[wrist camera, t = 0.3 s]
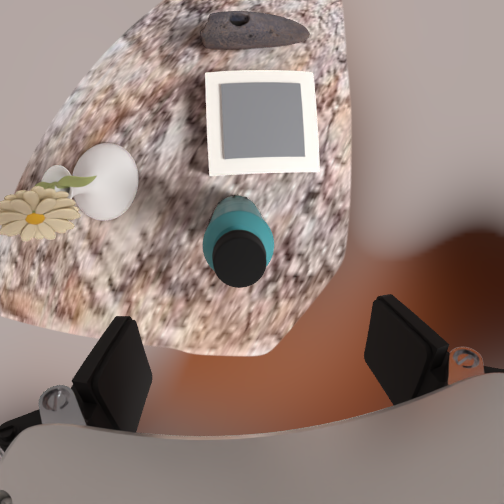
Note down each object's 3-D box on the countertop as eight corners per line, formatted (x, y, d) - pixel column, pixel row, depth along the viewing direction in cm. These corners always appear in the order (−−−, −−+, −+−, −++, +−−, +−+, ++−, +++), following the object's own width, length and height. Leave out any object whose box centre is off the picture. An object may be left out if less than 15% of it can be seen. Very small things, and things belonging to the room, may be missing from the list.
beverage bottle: (252, 187, 37) (273, 204, 18) (264, 232, 39) (294, 291, 20) (207, 201, 37) (180, 231, 18) (220, 245, 39) (210, 314, 20)
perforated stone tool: (303, 31, 30) (315, 10, 24) (305, 58, 32) (318, 39, 25) (204, 29, 29) (200, 6, 23) (203, 56, 31) (198, 35, 24)
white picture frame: (207, 82, 32) (204, 71, 28) (305, 80, 33) (313, 71, 29) (211, 175, 36) (209, 176, 32) (311, 171, 37) (320, 172, 33)
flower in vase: (77, 217, 36) (-40, 270, 12) (80, 145, 33) (-46, 140, 9) (151, 220, 37) (50, 293, 13) (156, 142, 34) (47, 108, 10)
